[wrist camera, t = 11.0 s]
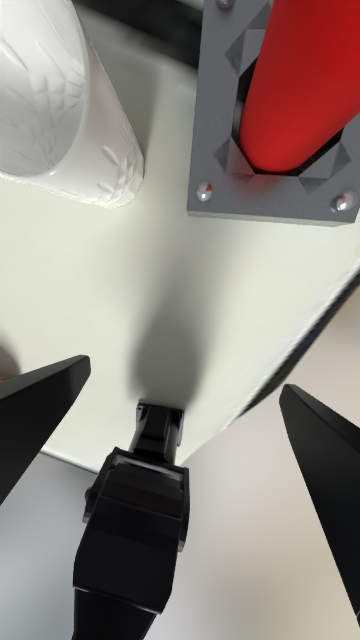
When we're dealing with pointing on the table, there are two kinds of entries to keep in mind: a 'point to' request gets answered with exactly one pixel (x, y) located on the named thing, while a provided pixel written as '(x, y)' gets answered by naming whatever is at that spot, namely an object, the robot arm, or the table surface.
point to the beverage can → (301, 83)
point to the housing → (225, 157)
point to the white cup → (61, 109)
